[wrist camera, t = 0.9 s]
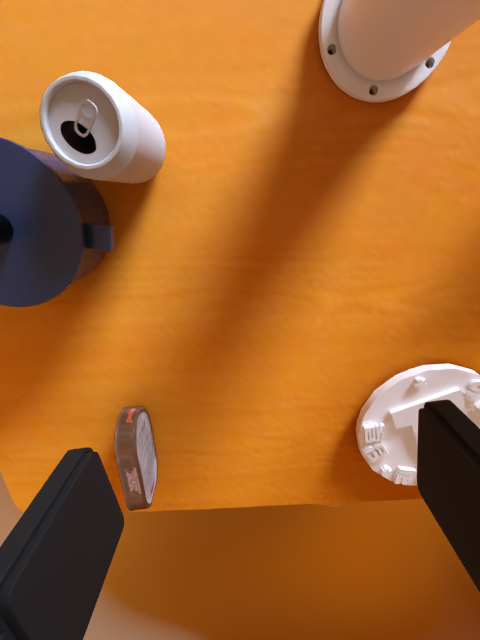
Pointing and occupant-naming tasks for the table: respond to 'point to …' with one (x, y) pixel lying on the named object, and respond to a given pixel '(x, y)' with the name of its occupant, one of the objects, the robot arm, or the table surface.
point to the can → (100, 130)
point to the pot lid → (35, 229)
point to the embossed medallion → (410, 415)
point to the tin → (136, 457)
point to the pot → (86, 215)
